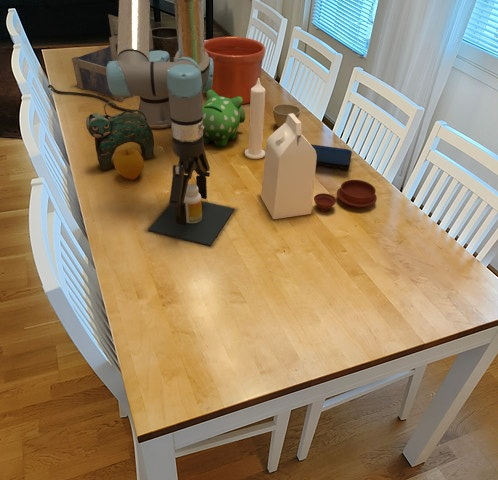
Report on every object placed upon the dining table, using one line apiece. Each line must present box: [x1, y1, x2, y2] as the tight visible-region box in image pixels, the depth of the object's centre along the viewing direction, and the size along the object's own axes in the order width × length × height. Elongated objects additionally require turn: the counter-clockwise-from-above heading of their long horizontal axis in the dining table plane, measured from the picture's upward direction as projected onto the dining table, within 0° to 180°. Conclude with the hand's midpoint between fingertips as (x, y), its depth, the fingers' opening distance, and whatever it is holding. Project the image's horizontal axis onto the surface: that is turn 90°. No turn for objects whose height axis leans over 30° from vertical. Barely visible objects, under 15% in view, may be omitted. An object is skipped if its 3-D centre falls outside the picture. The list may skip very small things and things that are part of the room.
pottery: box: [313, 179, 378, 212], centre depth 134 cm, size 12×20×4 cm, turn 113°
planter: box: [151, 26, 178, 57], centre depth 205 cm, size 17×17×16 cm
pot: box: [204, 36, 266, 105], centre depth 186 cm, size 25×25×19 cm
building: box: [71, 13, 154, 102], centre depth 187 cm, size 23×24×23 cm
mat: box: [147, 200, 235, 247], centre depth 126 cm, size 18×18×1 cm
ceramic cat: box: [85, 101, 155, 171], centre depth 142 cm, size 20×6×20 cm, turn 122°
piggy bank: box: [202, 90, 246, 148], centre depth 158 cm, size 14×18×15 cm
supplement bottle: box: [184, 183, 202, 223], centre depth 123 cm, size 5×5×10 cm
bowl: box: [272, 103, 301, 129], centre depth 169 cm, size 10×10×7 cm
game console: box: [310, 143, 353, 171], centre depth 149 cm, size 16×13×9 cm
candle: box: [244, 78, 266, 160], centre depth 147 cm, size 7×7×25 cm
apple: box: [113, 148, 145, 181], centre depth 139 cm, size 9×9×9 cm
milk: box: [260, 113, 317, 220], centre depth 125 cm, size 12×12×26 cm
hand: (192, 210), depth 124 cm, fingers open, 13 cm apart
